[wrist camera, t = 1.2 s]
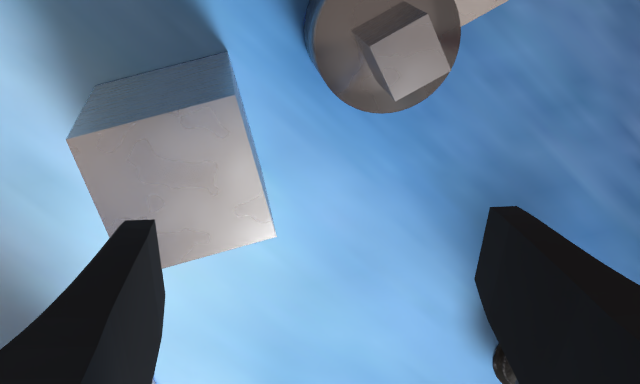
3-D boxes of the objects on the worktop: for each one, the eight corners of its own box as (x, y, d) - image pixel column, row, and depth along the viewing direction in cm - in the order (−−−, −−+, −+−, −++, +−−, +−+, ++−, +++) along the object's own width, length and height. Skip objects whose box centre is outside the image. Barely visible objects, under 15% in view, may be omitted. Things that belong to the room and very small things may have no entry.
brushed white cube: (142, 202, 25) (127, 278, 20) (94, 85, 22) (65, 139, 17) (261, 169, 25) (276, 236, 20) (227, 51, 23) (234, 94, 18)
